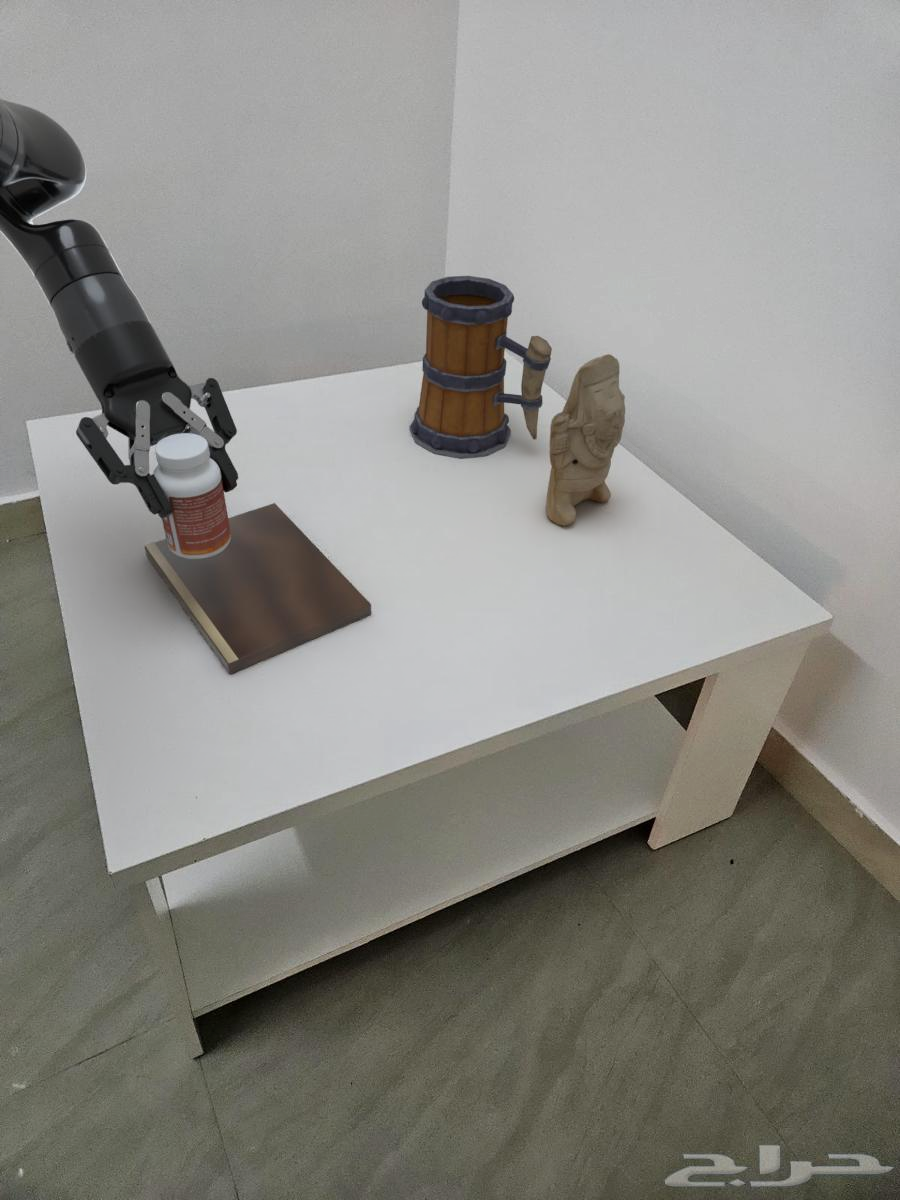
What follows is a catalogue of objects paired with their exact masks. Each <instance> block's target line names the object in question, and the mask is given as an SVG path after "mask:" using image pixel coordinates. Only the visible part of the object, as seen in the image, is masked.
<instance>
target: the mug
mask: <svg viewBox="0 0 900 1200" xmlns="http://www.w3.org/2000/svg"><path fill="white" fill-rule="evenodd" d="M514 301H515V296H514V293H513V292H512V291H511V290H510V289H509V287H508V286H507V285H506V284H504V283H501V282H499V281H496V280H494V279H491V278H487V277H479V276H474V275H473V276H472V275H457V276H455V275H454V276H453V275H451V276H446V277H445V276H444V277H442V278H438V279H435V280H432V281H431V282H429V284H428V285H427V286H426V288H425V289H424V297H423V298H422V300H421V306H422V308H423V309H424V310H426V341H425V354H424V355H423V356H422V367H421V368H422V370H421V371H422V373H423V374H422V382H421V389H420V395H419V401H418V402H419V403H418V406H417V408H416V411H415V412H414V413H413V415H414V416H413V420H412V422H411V423H410V425H408V426H409V430H408V431H409V432H410V434H411V437H412V439H413V441H414V443H415V444H416V445H418V446H420V447H421V448H423V449H425V450H426V451H429V452H430V453H432V454H434V455H440V456H445V457H450V458H456V459H469V458H478V457H479V458H480V457H488V456H490V455H492V454H494V453H496V452H498V451H500V450H501V449H504V448H505V447H506V446H507V444H508V441H509V439H510V437H511V435H512V430H511V428H510V427H509V425H508V424H509V422H510V418H509V417H510V416H509V415H508V414H506V413H505V404H514V405H520V407H521V409H522V412H523V416H524V417H523V418H524V419H525V420H524V421H525V425H526V426H525V427H526V428H527V431H528V433H529V434H530V436H531V438H532V440H537V439H538V438H537V437H538V422H539V421H538V420H539V411H540V408H542V407H543V395H542V388H543V384H544V380H545V377H546V372H547V370H548V368H549V366H550V362H551V359H552V358H551V355H552V351H553V348H552V346H551V345H550V343H549V341H548V340H546V339H545V338H543V337H541V336H540V335H531V336H530V339H529V343H528V345H527V347H525V346H524V345H522V344H520V343H518V342H517V341H515V340H513V339H511V338H510V337H508V336H507V335H508V334H507V333H508V331H507V329H508V319H509V317H510V316H511V315H512V314H513V313H512V312H513V303H514ZM505 350H508V351H509V352H512V353H513V354H516V355H517V356H518V357H521V358H522V362H523V365H522V373H521V374H522V376H521V382H520V383H521V384H520V390H521V394H513V393H505V376H506V371H507V360H506V358H505V352H506V351H505Z"/></svg>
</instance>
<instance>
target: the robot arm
mask: <svg viewBox="0 0 900 1200" xmlns="http://www.w3.org/2000/svg"><path fill="white" fill-rule="evenodd" d="M85 161H86V160H85V159H84V156H83V153H82V151H81V149H80V147H79V146H78V144H77V143H76V141H75V140H74V138H73V137H72V135H70V133H68V131H67V130H66V129H65V128H64V127H63V126H62V125H60V124H59V122H57V121H56V120H55V119H53V118H52V117H50V116H49V115H47V114H45V113H44V112H42V111H40V110H38V109H36V108H33V107H30V106H27V105H24V104H21V103H17V102H14V101H13V102H12V101H9V100H5V99H2V98H0V233H1V234H2V235H3V236H4V237H5V239H6V240H7V241H8V242H9V244H10V245H11V246H12V247H13V248H14V249H15V251H16V252H17V253H18V255H19V256H20V257H21V258H22V260H23V261H24V263H25V264H26V266H27V267H28V268H29V270H30V271H31V273H32V275H33V277H34V278H35V279H34V280H35V281H36V282H37V284H38V287H39V288H40V290H41V291H42V293H43V295H44V297H45V299H46V300H47V303H48V304H49V306H50V308H51V310H52V312H53V315H54V317H55V319H56V323H57V326H58V328H59V330H60V332H61V334H62V336H63V338H64V340H65V343H66V346H67V348H68V350H69V352H70V353H71V354H72V355H73V356H74V358H75V360H76V362H77V364H78V365H79V367H80V369H81V371H82V373H83V375H84V376H85V379H86V381H87V382H88V384H89V386H90V387H91V390H92V391H93V393H94V395H95V397H96V399H97V401H98V402H99V403H100V406H101V413H99V414H98V415H95V416H94V417H92V418H91V417H89V416H84V417H82V418H81V419H80V421H79V423H78V425H77V429H76V431H75V434H76V436H77V438H78V439H79V441H80V442H81V444H82V445H83V446H84V447H85V450H86V451H87V452H88V453H89V455H90V456H91V457H92V459H93V460H94V462H95V463H96V465H97V466H98V468H99V469H100V471H101V472H102V474H103V475H104V476H105V478H106V479H107V480H108V482H109V483H110V484H112V485H119V484H124V483H125V484H127V483H128V484H132V485H133V486H135V487H136V489H137V491H138V492H139V493H138V494H139V495H140V496H141V498H142V500H143V502H144V504H145V505H146V507H147V509H148V511H149V512H150V513H151V514H152V515H154V516H155V515H158V517H159V518H160V519H162V518H165V517H167V516H169V515H170V514H171V513H172V512H173V510H172V507H171V505H170V503H169V501H168V499H167V498H166V496H165V494H164V492H163V490H162V488H161V487H160V485H159V483H158V481H157V479H156V477H155V475H154V474H153V473H152V474H151V473H150V450H151V447H153V446H156V444H157V443H158V442H159V441H160V440H162V439H163V438H165V437H168V436H170V435H174V434H181V433H191V434H196V435H200V436H202V437H203V438H205V439H206V441H207V443H208V447H209V451H210V457H209V458H211V459H212V460H214V461H215V462H216V463H217V465H218V466H219V468H220V472H221V477H222V483H223V490H224V493H226V494H227V493H229V492H232V491H233V490H234V489H236V488H237V486H238V482H237V481H238V480H239V473H238V471H237V469H236V468H235V466H234V463H233V462H232V460H231V458H230V456H229V454H228V452H227V449H226V445H228V444H229V443H230V441H231V440H232V439H233V438H234V437H235V436H236V435H237V432H238V429H237V427H236V424H235V422H234V418H233V417H232V414H231V411H230V409H229V406H228V404H227V401H226V398H225V397H224V394H223V392H222V389H221V386H220V384H219V382H218V380H217V379H215V378H214V377H209V378H207V379H206V380H205V382H202V383H197V384H191V385H189V384H187V383H186V382H185V381H184V380H182V378H180V376H179V375H178V373H177V370H176V368H175V366H174V363H173V361H172V360H171V358H170V356H169V354H168V352H167V349H166V348H165V347H164V344H163V343H162V341H161V339H160V337H159V334H158V333H157V331H156V329H155V327H154V326H153V324H152V322H151V320H150V319H149V317H148V314H147V313H146V311H145V309H144V307H143V305H142V303H141V302H140V300H139V298H138V296H137V295H136V294H135V292H134V291H133V290H132V288H131V287H130V285H129V284H128V283H127V281H126V279H125V277H124V275H123V273H122V271H121V269H120V268H119V266H118V264H117V262H116V260H115V258H114V256H113V255H112V252H111V251H110V249H109V247H108V244H107V243H106V242H105V239H104V238H103V236H102V234H101V233H100V232H99V231H98V229H97V228H96V227H95V226H94V225H93V224H92V223H90V222H89V221H86V220H84V219H77V218H67V219H61V220H56V221H49V222H46V223H40V224H34V223H33V220H34V219H36V218H37V217H40V216H42V215H43V214H46V213H47V212H49V211H51V210H52V209H54V208H56V207H58V206H60V205H61V204H64V203H66V202H68V201H70V200H71V199H73V198H75V197H76V196H77V195H79V194H80V192H81V191H82V189H83V188H84V186H85V183H86V180H87V165H86V162H85ZM192 399H193V400H195V402H196V403H197V404H198V406H200V407H201V408H204V410H205V412H206V414H207V417H208V419H209V422H210V425H211V427H212V429H213V430H212V429H211V428H210V427H208V425H207V423H206V421H205V420H204V419H202V418H201V417H200V416H199V415H198V414H196V413H195V412H194V411H193V410H191V402H192ZM107 427H109V428H111V429H113V430H115V431H116V432H118V433H119V434H122V435H123V436H125V437H126V438H128V439H127V445H128V446H127V449H128V455H127V456H128V460H129V464H124V462H123V461H122V459H121V458H120V456H119V454H118V453H117V452H116V451H115V449H114V448H113V446H112V445H111V443H110V442H109V441H108V439H107V438H108V436H109V431H108V428H107Z"/></svg>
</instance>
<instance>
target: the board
mask: <svg viewBox="0 0 900 1200" xmlns="http://www.w3.org/2000/svg"><path fill="white" fill-rule="evenodd" d="M228 520H229V526H230V533H231V539H230V542H229V544H228V545H227V547H226V548H225V549H224V550H223V551H221V552H220V553H218V554H216V555H214V556H211V557H207V558H201V559H188V558H183V557H180V556H178V555H176V554H174V553H173V552H172V551H171V550H170V548H169V547H168V544H167V540H166V538H164V539H161V540H158V541H152V542H148V543H145V544H144V545H143V546H144V551H145V555H146V558H147V559H148V560H149V562H150V563H151V565H152V566H153V568H154V569H155V570H156V572H157V573H158V574H159V576H160V577H161V579H162V580H163V582H164V583H165V585H167V588H168V589H169V591H170V592H171V593H172V594H173V596H174V597H175V599H176V600H177V602H178V603H179V605H180V606H181V607H182V609H183V610H184V612H185V613H186V615H187V616H188V618H189V619H190V621H192V623H193V624H194V625H195V628H196V629H197V631H198V632H199V633H200V634H201V636H202V637H203V639H204V640H205V641H206V643H207V645H208V646H209V647H210V649H211V650H212V652H213V653H214V654H215V656H216V657H217V659H218V660H219V661H220V663H221V664H222V666H223V667H224V668H225V670H226V672H227V673H228V674H229V675H233V674H234V673H237V672H239V671H242V670H244V669H247V668H249V667H251V666H254V665H255V664H258V663H260V662H262V661H265V660H268V659H270V658H272V657H275V656H277V655H279V654H282V653H285V652H286V651H289V650H291V649H294V648H295V647H299V646H300V645H303V644H305V643H307V642H309V641H312V640H315V639H317V638H319V637H322V636H324V635H326V634H329V633H331V632H334V631H336V630H338V629H341V628H343V627H346V626H347V625H350V624H351V623H355V622H357V621H359V620H361V619H364V618H367V617H369V616H371V615H372V603H371V602H370V601H369V600H368V599H367V598H366V597H365V596H364V595H363V594H362V593H361V592H360V590H358V589H357V587H356V586H355V585H353V583H352V582H351V581H350V580H349V579H348V578H347V577H346V576H345V575H344V574H343V573H342V572H341V571H340V569H338V567H336V565H335V564H333V563H332V561H331V560H330V559H329V558H328V557H327V556H326V555H325V554H324V553H323V552H322V551H321V550H320V549H319V548H318V547H317V546H316V544H315V543H314V542H313V541H312V540H311V539H310V538H309V537H308V536H307V535H306V534H305V533H304V532H303V531H302V530H301V529H300V528H299V527H298V526H297V525H296V524H295V523H294V522H293V521H292V520H291V519H290V517H289V516H288V515H287V514H286V513H285V512H284V511H283V510H282V509H281V508H280V507H279V505H277V504H276V503H275V502H274V503H270V504H267V505H263V506H261V507H258V508H255V509H252V510H249V511H246V512H243V513H239V514H237V515H234V516H230V517H228Z"/></svg>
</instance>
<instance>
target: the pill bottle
mask: <svg viewBox="0 0 900 1200" xmlns="http://www.w3.org/2000/svg"><path fill="white" fill-rule="evenodd" d="M154 446H155V447H154V453H155V457H156V462H157V465H156V467H155V468H154V470H153V473H152V475H153V474H154V475H155V477H156V479H157V481H158V483H159V485H160V487H161V488H162V490H163V492H164V494H165V496H166V498H167V499H168V501H169V503H170V505H171V507H172V510H173V512H172V513H171V514H170V515H169V516H167V517H165V518H161V522H162V526H163V530H164V535H165V539H166V540H167V544H168V547H169V548H170V550H171V551H172V552H173V553H174V554H176V555H178V556H180V557H183V558H188V559H201V558H207V557H211V556H214V555H216V554H218V553H220V552H221V551H223V550H224V549H225V548H226V547H227V545H228V544H229V542H230V539H231V533H230V526H229V520H228V518H229V515H228V509H227V503H226V497H225V492H224V490H223V483H222V477H221V472H220V468H219V466H218V465H217V463H216V462H215V461H214V460H212V459H211V458H209V457H210V451H209V447H208V443H207V441H206V439H205V438H203V437H202V436H200V435H196V434H191V433H181V434H174V435H170V436H168V437H165V438H163V439H162V440H160V441H159V442H158V443H157V444H156V445H154Z"/></svg>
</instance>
